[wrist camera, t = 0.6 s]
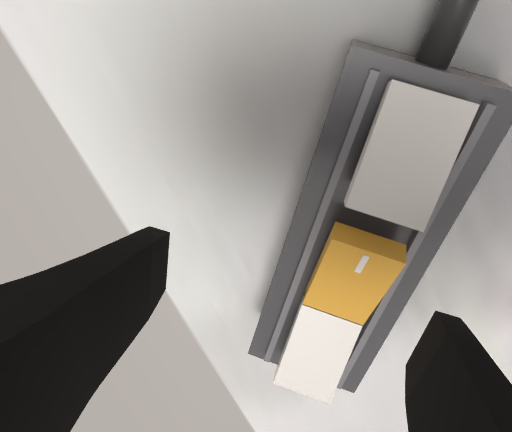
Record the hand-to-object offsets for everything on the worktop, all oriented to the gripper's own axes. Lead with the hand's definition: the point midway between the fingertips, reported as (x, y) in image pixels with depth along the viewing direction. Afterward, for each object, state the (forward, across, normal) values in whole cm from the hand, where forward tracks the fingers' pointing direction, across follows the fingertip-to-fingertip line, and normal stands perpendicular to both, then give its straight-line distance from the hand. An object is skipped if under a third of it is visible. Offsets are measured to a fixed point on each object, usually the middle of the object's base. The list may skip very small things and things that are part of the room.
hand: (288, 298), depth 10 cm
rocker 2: (+6, -2, -3) cm, 7 cm away
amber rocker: (+6, -2, +2) cm, 7 cm away
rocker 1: (+6, -2, +7) cm, 10 cm away
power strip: (+10, -2, 0) cm, 10 cm away
